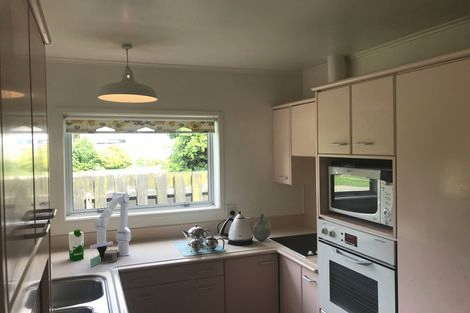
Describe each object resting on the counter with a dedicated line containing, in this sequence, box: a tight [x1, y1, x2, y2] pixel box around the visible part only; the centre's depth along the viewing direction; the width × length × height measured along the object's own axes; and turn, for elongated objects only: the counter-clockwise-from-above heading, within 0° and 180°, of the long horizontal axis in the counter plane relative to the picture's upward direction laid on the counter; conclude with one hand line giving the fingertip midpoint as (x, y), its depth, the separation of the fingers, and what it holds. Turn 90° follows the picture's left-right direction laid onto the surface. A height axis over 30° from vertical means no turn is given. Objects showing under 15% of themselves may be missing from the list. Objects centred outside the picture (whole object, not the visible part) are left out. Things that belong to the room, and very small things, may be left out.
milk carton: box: [68, 229, 85, 262], centre depth 253 cm, size 9×9×20 cm
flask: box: [252, 212, 272, 242], centre depth 300 cm, size 12×17×22 cm
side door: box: [89, 253, 101, 268], centre depth 242 cm, size 1×10×5 cm, turn 166°
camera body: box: [100, 248, 121, 264], centre depth 251 cm, size 8×12×6 cm
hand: (101, 257), depth 242 cm, fingers closed
